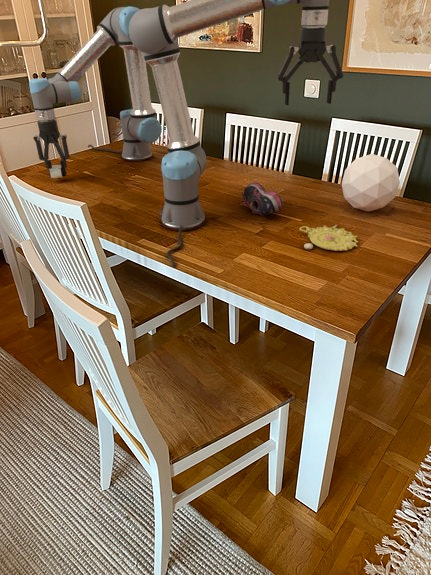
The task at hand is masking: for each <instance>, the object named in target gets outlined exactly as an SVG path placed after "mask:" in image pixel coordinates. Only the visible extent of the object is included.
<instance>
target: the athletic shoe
mask: <svg viewBox="0 0 431 575" xmlns="http://www.w3.org/2000/svg"><path fill="white" fill-rule="evenodd" d="M241 197H242V199H243V201H238V203H239V204H241V205H245V206H246V207H247V208H248V210H249V211H250V210H251V213H252V214H255V215H260V217H266V216H267V215H270V214H274V213H275V212H279V211H282V210H283V209H284V205H283V201H282V198H281V196H280V195H279V194H278V192H277V191H274V190H269V191H267V190H266V189H265V187H264V186H263V185H262V184H261V183H258V182H251V183H249V184H247V186H246V187H245V188H244V190H243V191H242V192H241Z"/></svg>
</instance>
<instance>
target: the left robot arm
mask: <svg viewBox="0 0 431 575" xmlns="http://www.w3.org/2000/svg"><path fill="white" fill-rule="evenodd" d="M139 10H141V9H140V8H139V7H135V6H118V7H116V8H113V9H112V10H111V11H110V12H109V13H108V14H107V15H106V16H105V17H104V18H103V19H102V20H101V22H99V24H98V25H97V26H96V31H95V32H94V33H93V34H92V36H91V37H89V39H87V41H86V42H85V43H84V44H83V45H82V46H81V47H80V48H79V50H77V51H76V53H75V54H74V55H73V56H72V57H71V58H70V59H69V60H68V61H67V62H66V63H65V64H64V66H63V67H62V68H61V69H59V71H58V72H57V73H56V74H55V75H54V76H53V77H50V78H48V79H47V78H44V77H43V78H41V77H40V78H32V79H30V80H29V81H28V87H29V93H30V96H31V100H32V104H33V109H34V114H35V118H36V120H37V127H38V131H39V132H38V134H37V135H34V136H33V138H32V139H33V140H34V143H35V145H36V150H37V155H38V159H39V161H43V162H44V165H45V166H44V167H45V169H47V170H48V173H49V177H50V178H51V175H50V170H49V168H50V167H51V166H52V165H53V164H52V161H51V159H49V150H50V149H49V148H50V145H51V144H52V145H53V146H54V147H55V149H56V151H57V154H58V155H59V157H60V161H59V164H60V165H61V168H62V173H63V177H66V175H67V170H66V169H67V167H68V164H67V160H69V159H70V152H69V151H70V150H69V147H68V142H67V137H68V136H67V134H62V133H61V132H60V131H59V127H58V123H57V120H56V113H55V107H54V105H55V104H61V103H74V102H79V101H80V100H82V90H81V87H80V84H79V82H78V81H79V80H80V79H81V78H82V77H83V76H84V75H85V73H87V72H88V70H89V69H90V68H91V67H92V66H93V65H94V64H95V63H96V62H97V61H98V60H99V59H100V58H101V56H102V55H103V54H105V52H106V51H107V50H108V49H109V48H110V47H114V46H115V45H116V44H117V43H118V45H119V47H120V48H121V49H122V50H123V54H124V60H125V66H126V73H127V81H128V85H129V92H130V98H131V105H132V106H131V107H132V108H130V109H125V110H124V109H123V110H121V111H120V113H119V117H120V118H119V120H120V125H121V133H122V139H123V140H122V141H123V145H122V150H113V149H108V148H98V147H94V146H93V145H92V144H88V145H87V148H90V147H91V149H93V150H95V151H103V152H110V153H113V154H114V153H115V154H121V159H122V160H123V161H126V162H142V161H147V160H150V159H151V158H153V151H152V149H151V147H150V144H153V143H156V142H157V141H158V140H159V138H160V137H161V135H162V128H163V127H162V124H161V123H160V121H159V119H157V112H156V109H155V108H153V106H152V100H151V91H150V84H149V83H150V82H149V76H148V69H147V63H146V62H145V59H144V55H143V52H141V51H140V50H138V49H137V48H136V47H135V46H134V44H133V43H132V41H131V39H130V35H129V24H130V20H131V18H132V17H133V15H134V14H135V13H136V12H137V11H139ZM59 139H60V140H61V144H62V147H61V145H60V141H59ZM41 140H42V141H43V146H42V143H41V142H42V141H41Z"/></svg>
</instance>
